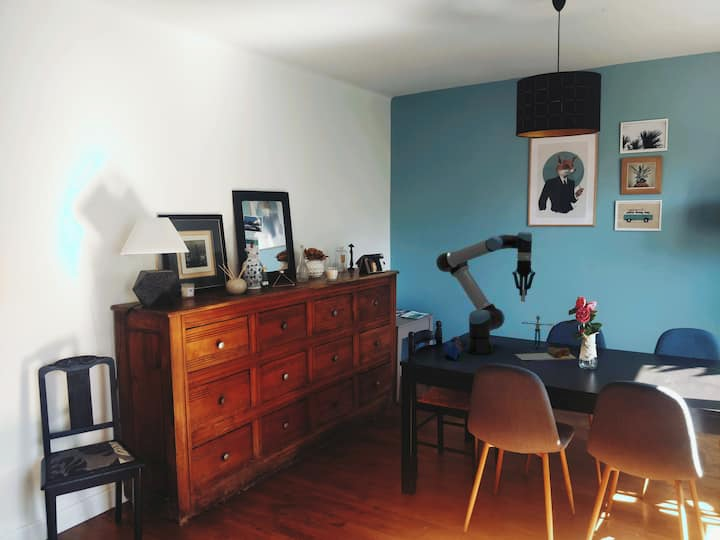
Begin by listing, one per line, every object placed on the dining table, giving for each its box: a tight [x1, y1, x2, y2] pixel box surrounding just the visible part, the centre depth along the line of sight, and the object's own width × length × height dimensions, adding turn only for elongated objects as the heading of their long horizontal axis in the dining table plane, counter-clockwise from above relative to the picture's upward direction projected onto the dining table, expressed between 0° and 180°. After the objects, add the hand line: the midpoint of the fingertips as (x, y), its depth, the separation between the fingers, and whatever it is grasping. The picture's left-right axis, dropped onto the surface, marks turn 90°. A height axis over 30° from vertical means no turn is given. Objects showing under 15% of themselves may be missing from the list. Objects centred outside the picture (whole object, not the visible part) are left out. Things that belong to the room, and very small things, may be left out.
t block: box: [547, 346, 571, 358], centre depth 311 cm, size 10×10×4 cm
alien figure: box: [521, 315, 555, 349], centre depth 331 cm, size 20×5×19 cm, turn 62°
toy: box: [443, 336, 463, 360], centre depth 314 cm, size 11×10×15 cm
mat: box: [514, 352, 577, 361], centre depth 311 cm, size 30×12×1 cm, turn 93°
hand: (522, 301), depth 319 cm, fingers closed
